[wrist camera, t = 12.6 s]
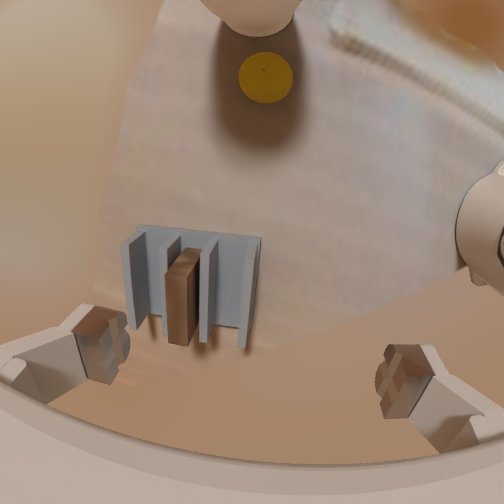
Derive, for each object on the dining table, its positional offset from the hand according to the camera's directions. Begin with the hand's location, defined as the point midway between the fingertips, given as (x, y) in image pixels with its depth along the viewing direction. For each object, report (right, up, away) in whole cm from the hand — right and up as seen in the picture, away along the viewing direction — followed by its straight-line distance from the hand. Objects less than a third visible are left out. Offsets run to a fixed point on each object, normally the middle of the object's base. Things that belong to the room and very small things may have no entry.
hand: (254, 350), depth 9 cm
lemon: (+2, +22, +23) cm, 32 cm away
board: (-7, -1, +31) cm, 32 cm away
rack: (-7, 0, +32) cm, 33 cm away
